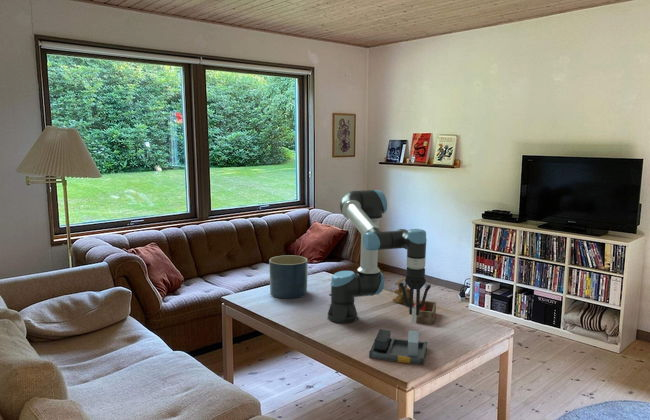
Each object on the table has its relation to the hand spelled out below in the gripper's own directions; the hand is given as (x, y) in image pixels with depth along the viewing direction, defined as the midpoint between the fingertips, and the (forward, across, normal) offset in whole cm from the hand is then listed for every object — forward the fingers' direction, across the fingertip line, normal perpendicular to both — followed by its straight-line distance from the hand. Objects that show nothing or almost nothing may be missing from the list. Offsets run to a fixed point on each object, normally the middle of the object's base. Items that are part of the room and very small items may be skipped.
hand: (413, 321), depth 205 cm
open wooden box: (+14, +1, +46) cm, 48 cm away
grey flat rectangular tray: (+14, -6, 0) cm, 16 cm away
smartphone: (+15, -49, +70) cm, 87 cm away
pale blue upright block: (+13, 0, 0) cm, 13 cm away
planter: (+15, -79, +62) cm, 101 cm away
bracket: (+15, +1, +46) cm, 48 cm away
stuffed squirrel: (+15, -12, +65) cm, 67 cm away
